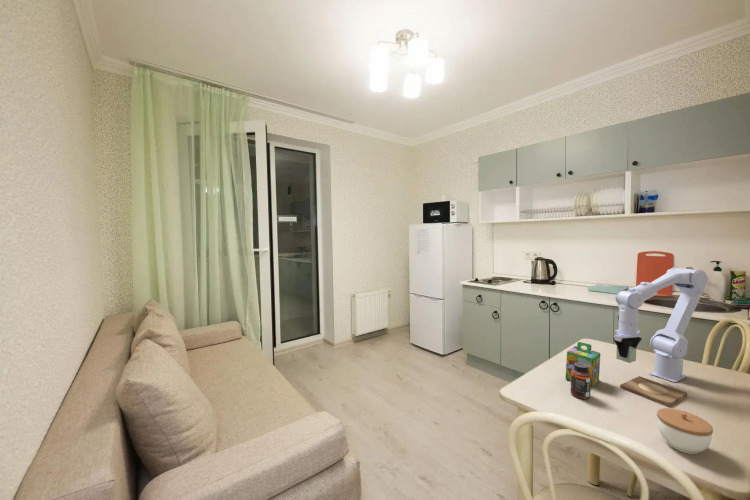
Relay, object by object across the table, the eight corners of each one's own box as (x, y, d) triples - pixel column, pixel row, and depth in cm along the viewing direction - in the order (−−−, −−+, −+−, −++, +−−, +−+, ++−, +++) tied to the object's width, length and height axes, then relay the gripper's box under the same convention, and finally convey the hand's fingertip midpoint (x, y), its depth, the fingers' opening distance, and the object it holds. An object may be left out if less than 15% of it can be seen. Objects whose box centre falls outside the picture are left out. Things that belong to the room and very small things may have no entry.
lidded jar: (645, 434, 89) (646, 403, 88) (679, 431, 90) (680, 401, 89) (685, 462, 78) (687, 427, 78) (723, 459, 79) (725, 424, 78)
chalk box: (565, 379, 121) (565, 343, 120) (573, 372, 127) (574, 337, 126) (592, 388, 114) (593, 350, 113) (600, 380, 120) (601, 344, 119)
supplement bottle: (593, 400, 106) (594, 369, 106) (574, 399, 108) (575, 368, 107) (585, 391, 112) (586, 361, 111) (567, 390, 113) (568, 360, 113)
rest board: (639, 379, 121) (639, 375, 120) (687, 396, 108) (687, 392, 108) (620, 387, 114) (620, 384, 114) (668, 407, 102) (669, 403, 102)
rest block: (622, 356, 124) (622, 344, 123) (635, 360, 120) (636, 348, 119) (616, 358, 122) (616, 346, 122) (629, 363, 118) (630, 350, 117)
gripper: (626, 316, 126) (625, 348, 127) (606, 321, 120) (604, 355, 121) (647, 321, 120) (645, 354, 121) (627, 327, 114) (625, 362, 115)
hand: (626, 355), depth 120 cm, fingers closed on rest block, 4 cm apart
